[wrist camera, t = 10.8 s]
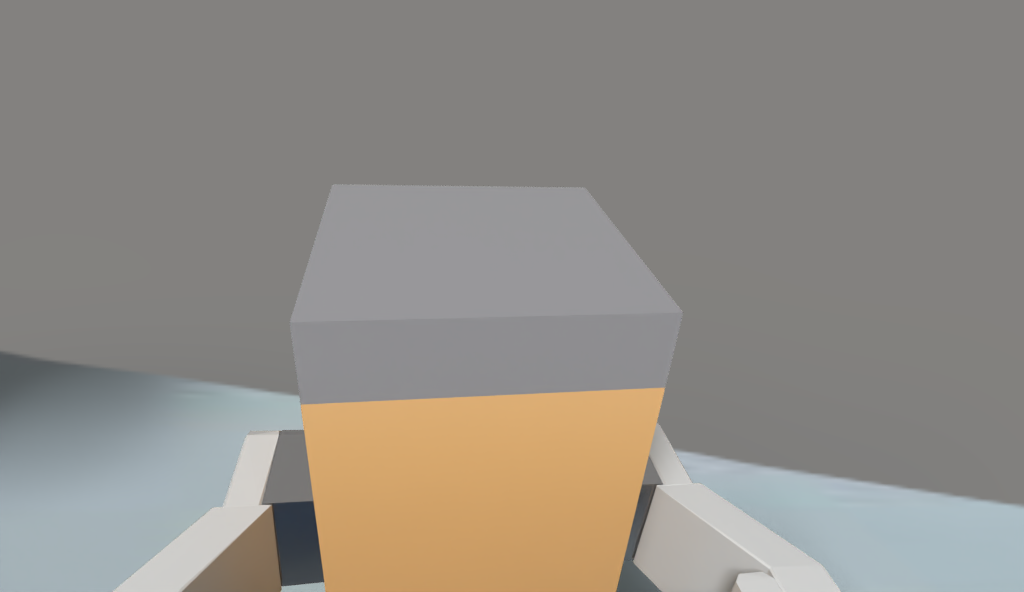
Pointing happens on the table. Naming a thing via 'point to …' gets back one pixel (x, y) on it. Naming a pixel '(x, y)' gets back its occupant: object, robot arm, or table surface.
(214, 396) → the table surface
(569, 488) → the plug
